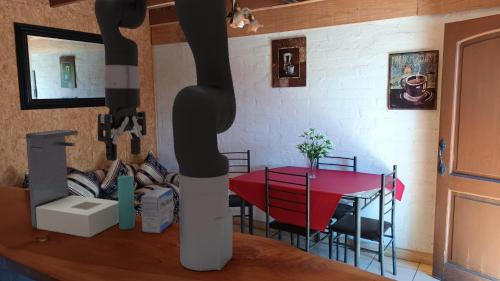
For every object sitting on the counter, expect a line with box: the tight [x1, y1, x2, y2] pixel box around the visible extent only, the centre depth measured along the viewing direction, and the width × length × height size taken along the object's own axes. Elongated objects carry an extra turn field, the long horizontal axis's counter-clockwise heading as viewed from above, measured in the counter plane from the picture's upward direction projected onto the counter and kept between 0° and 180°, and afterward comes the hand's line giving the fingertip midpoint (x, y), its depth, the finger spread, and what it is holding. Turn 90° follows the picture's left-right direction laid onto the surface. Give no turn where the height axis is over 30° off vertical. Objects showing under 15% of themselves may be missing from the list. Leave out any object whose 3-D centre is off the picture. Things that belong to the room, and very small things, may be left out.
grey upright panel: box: [25, 129, 79, 228], centre depth 91 cm, size 5×10×22 cm, turn 161°
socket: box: [36, 194, 119, 238], centre depth 90 cm, size 15×11×5 cm
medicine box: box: [141, 187, 174, 234], centre depth 89 cm, size 8×4×9 cm, turn 168°
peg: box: [117, 175, 136, 230], centre depth 88 cm, size 4×4×12 cm
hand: (124, 157), depth 87 cm, fingers open, 8 cm apart
